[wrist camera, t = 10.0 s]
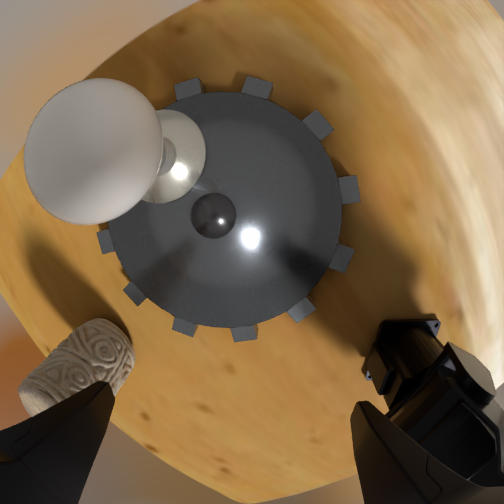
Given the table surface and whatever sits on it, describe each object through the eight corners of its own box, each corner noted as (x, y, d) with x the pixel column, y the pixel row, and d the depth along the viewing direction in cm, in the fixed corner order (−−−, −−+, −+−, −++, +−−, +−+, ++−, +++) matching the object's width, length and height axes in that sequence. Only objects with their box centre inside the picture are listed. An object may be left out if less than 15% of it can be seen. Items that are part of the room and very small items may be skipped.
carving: (73, 318, 24) (0, 382, 12) (124, 306, 23) (43, 389, 11) (101, 367, 25) (45, 439, 14) (153, 363, 24) (100, 456, 12)
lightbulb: (223, 173, 17) (145, 174, 7) (146, 219, 18) (30, 269, 8) (181, 95, 16) (82, 27, 5) (110, 144, 17) (-12, 139, 7)
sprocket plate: (358, 94, 17) (367, 86, 15) (332, 337, 22) (336, 351, 20) (111, 95, 18) (98, 89, 16) (115, 314, 23) (105, 324, 21)
